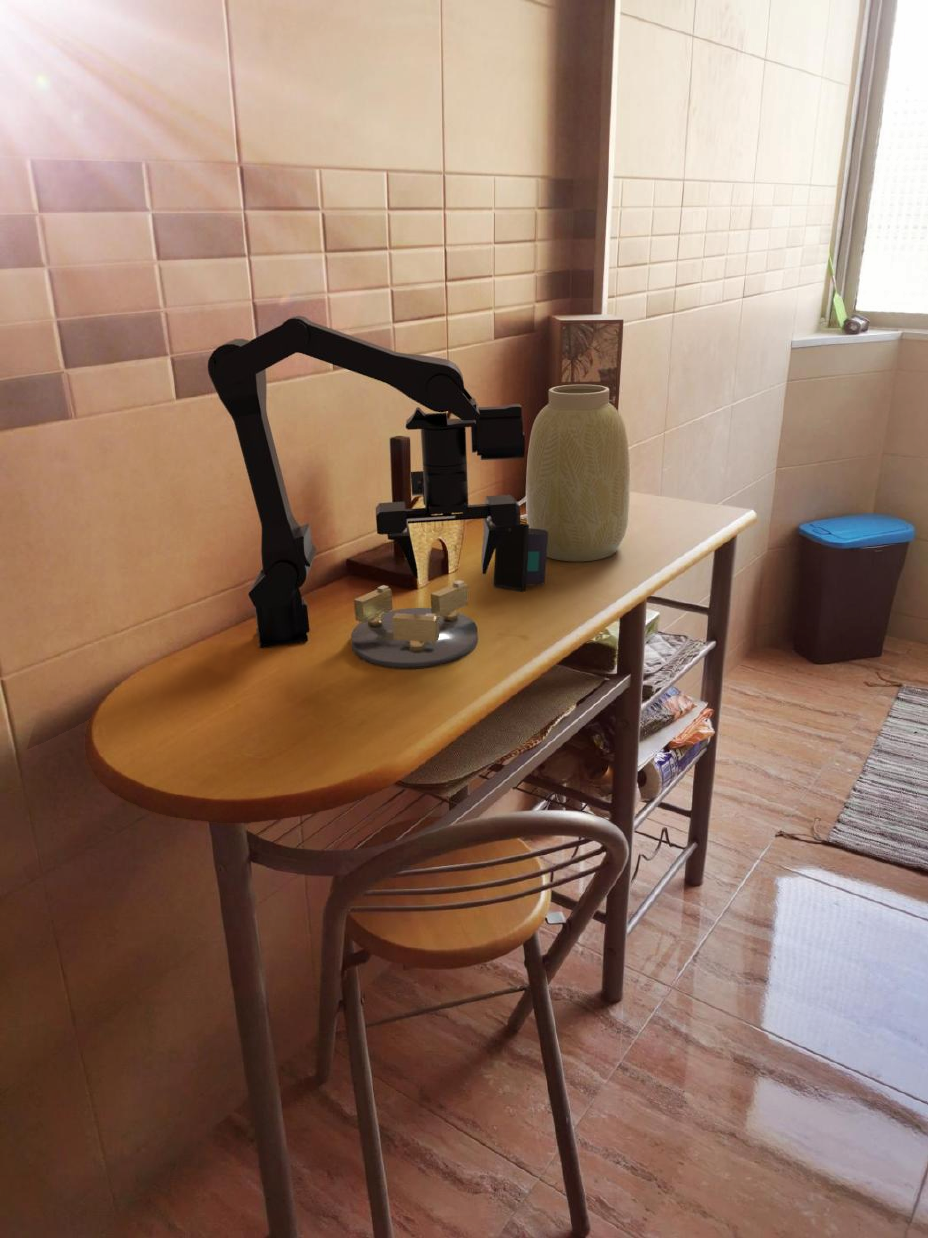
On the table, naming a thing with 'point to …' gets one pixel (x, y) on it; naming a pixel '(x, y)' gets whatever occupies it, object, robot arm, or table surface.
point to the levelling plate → (395, 654)
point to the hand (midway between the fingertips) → (450, 575)
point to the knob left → (373, 606)
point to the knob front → (416, 629)
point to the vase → (579, 474)
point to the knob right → (449, 601)
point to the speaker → (520, 558)
